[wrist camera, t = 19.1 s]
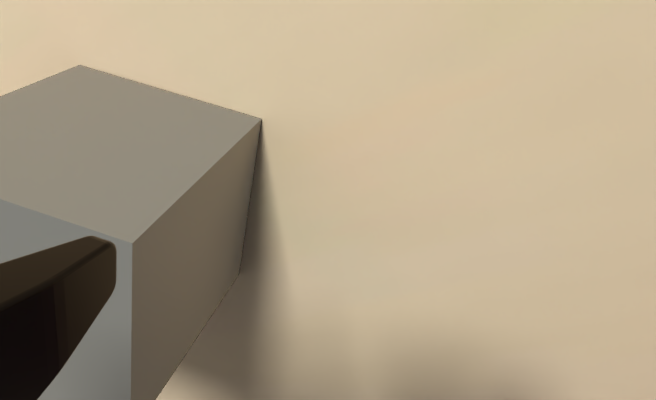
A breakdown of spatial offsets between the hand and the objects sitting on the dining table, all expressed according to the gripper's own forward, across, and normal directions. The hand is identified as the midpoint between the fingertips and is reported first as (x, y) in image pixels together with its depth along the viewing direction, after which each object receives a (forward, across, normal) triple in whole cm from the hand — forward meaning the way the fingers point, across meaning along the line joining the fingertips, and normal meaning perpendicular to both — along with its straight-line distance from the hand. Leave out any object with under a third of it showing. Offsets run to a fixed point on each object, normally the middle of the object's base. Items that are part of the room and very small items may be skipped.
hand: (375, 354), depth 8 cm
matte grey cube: (+12, +10, +6) cm, 17 cm away
